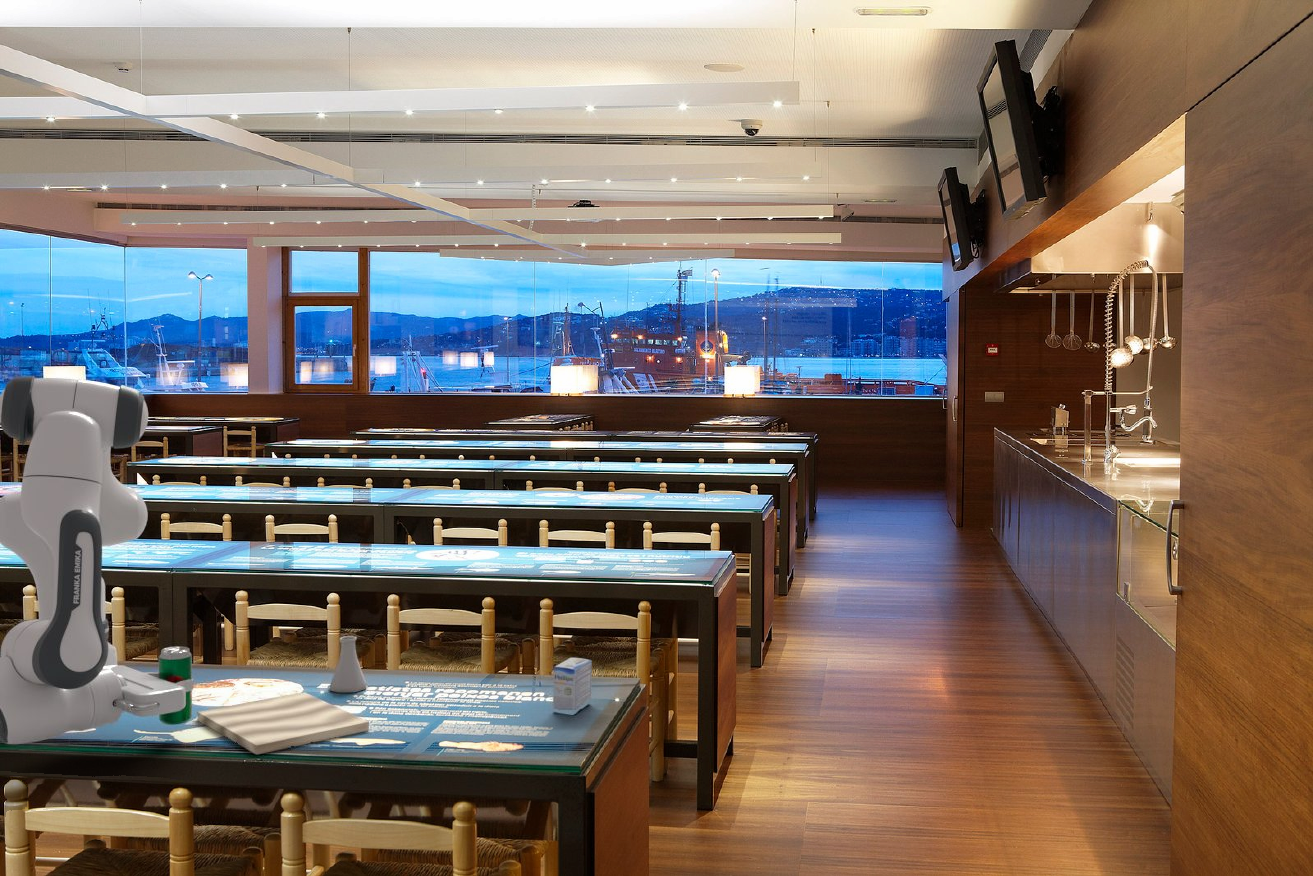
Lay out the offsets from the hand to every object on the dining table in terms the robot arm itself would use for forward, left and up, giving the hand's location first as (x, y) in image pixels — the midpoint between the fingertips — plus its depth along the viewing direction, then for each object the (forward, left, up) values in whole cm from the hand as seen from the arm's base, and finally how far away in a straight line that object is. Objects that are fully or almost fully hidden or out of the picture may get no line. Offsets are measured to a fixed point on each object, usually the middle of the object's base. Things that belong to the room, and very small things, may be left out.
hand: (180, 680), depth 196 cm
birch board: (+4, +16, -10) cm, 19 cm away
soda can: (0, -1, -7) cm, 7 cm away
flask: (-10, +36, -10) cm, 39 cm away
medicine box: (+28, +61, -10) cm, 68 cm away
